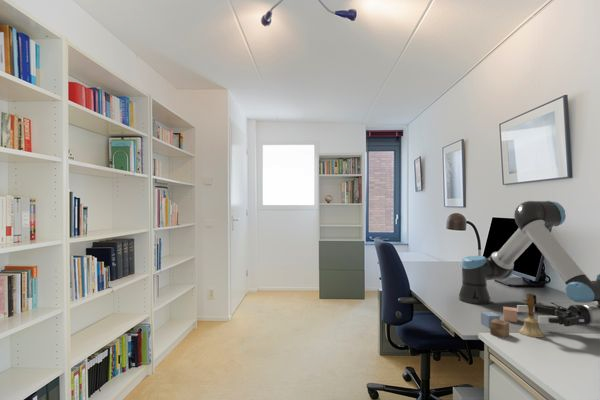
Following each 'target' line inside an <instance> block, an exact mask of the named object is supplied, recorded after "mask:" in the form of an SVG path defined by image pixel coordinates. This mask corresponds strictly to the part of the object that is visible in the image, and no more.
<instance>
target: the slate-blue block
mask: <svg viewBox="0 0 600 400" xmlns="http://www.w3.org/2000/svg"><path fill="white" fill-rule="evenodd" d="M494 319H498V320H501V316H500V315H499V314H497V313H495V312H493V311H482V312H480V324H481V325H482V326H485V327H486V328H488V329H490V321H492V320H494Z"/></svg>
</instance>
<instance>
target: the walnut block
mask: <svg viewBox="0 0 600 400" xmlns="http://www.w3.org/2000/svg"><path fill="white" fill-rule="evenodd" d="M489 329H490V331H489V332H490V335H492V336H495V337H500V338H503V337H504V338H503V339H505V338H506V336H507V337H508V336H510V321H504V320H502V319H500V320H498V319H494V320H492V321H490V328H489Z"/></svg>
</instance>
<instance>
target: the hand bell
mask: <svg viewBox="0 0 600 400" xmlns="http://www.w3.org/2000/svg"><path fill="white" fill-rule="evenodd" d="M527 293H528V296H527V295H526V300H527V302H526V305H527V306H528V310H529V311H528V312H527V313H528V317H526V318H525V319H524V321H523V325H522V327H521V328H520V329H519V331H518V332H519V333H520V334H521V335H523V336H525V335H526V336H527V337H529V336H530V337H529V338H534V337H542V338H544V337H545V333H543V331H542V330H541V328H540V326H539V324H540V323H538V319H535V317H534V313H533V308H534V298H533V295H532V294H533V293H532V292H527Z"/></svg>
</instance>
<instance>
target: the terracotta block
mask: <svg viewBox="0 0 600 400" xmlns="http://www.w3.org/2000/svg"><path fill="white" fill-rule="evenodd" d="M502 308H503V309H502V310H503V312H502V313H503V314H502V315H503V321H506V322H509V323H510V322H511V323H518V312H517V307H509V306H502Z"/></svg>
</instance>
